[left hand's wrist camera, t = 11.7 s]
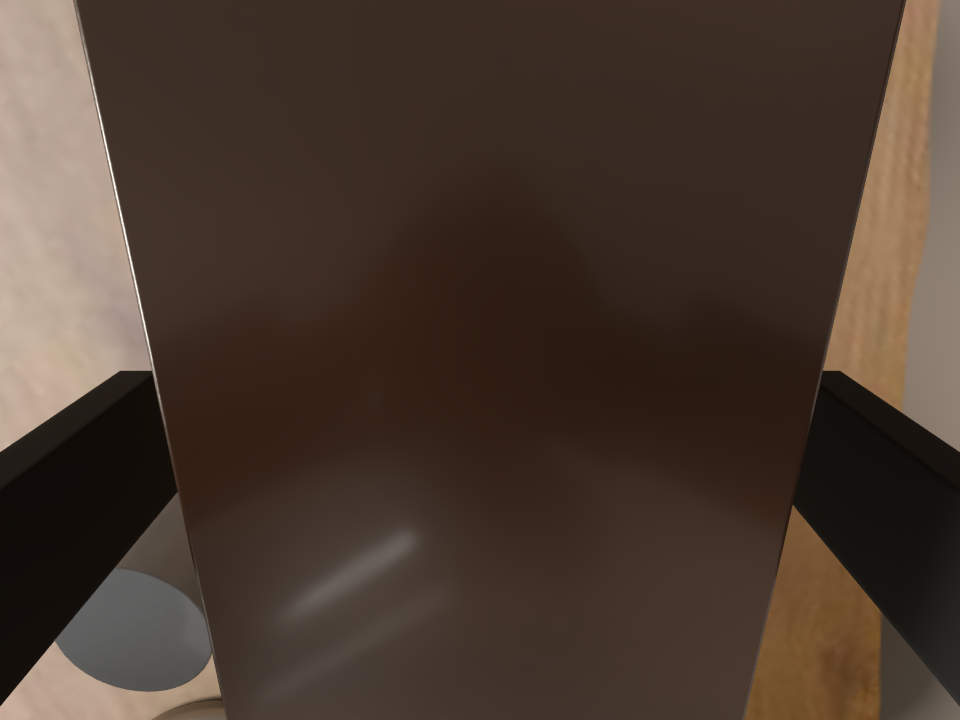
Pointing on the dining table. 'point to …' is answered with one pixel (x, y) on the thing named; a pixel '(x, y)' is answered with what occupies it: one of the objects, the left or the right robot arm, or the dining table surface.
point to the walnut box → (487, 331)
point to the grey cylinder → (144, 615)
